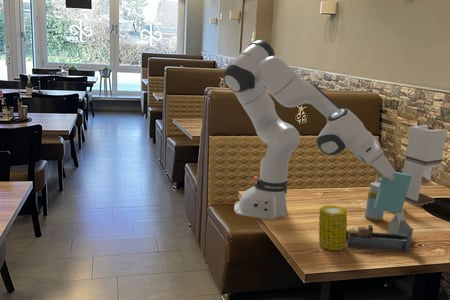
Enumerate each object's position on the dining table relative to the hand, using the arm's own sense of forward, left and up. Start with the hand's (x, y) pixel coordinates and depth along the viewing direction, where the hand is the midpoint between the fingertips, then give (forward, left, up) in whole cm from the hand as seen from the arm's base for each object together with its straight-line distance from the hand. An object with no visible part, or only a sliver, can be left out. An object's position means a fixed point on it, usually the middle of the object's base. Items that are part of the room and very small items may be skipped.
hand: (391, 176), depth 149 cm
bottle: (+5, +26, -26) cm, 37 cm away
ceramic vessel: (+14, +44, -26) cm, 53 cm away
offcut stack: (-7, 0, -26) cm, 27 cm away
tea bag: (+9, +10, -26) cm, 29 cm away
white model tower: (+32, +52, -26) cm, 66 cm away
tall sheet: (0, 0, -12) cm, 12 cm away
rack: (-2, 0, -26) cm, 26 cm away
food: (-18, -3, -26) cm, 32 cm away
